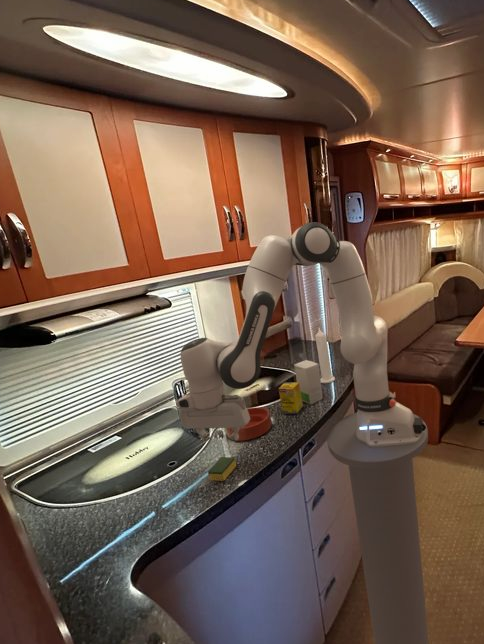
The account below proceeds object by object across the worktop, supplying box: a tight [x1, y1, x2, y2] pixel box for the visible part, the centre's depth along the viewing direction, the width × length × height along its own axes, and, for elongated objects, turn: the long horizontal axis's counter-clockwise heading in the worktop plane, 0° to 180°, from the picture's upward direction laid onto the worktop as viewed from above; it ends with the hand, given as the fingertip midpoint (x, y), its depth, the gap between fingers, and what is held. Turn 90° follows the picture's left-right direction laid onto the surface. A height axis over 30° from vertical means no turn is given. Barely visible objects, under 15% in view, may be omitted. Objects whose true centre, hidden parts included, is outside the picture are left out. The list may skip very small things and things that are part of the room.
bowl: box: [225, 406, 273, 442], centre depth 132 cm, size 15×15×5 cm
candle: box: [314, 327, 336, 384], centre depth 166 cm, size 7×7×25 cm
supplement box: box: [278, 381, 304, 416], centre depth 142 cm, size 6×6×11 cm
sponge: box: [207, 456, 237, 482], centre depth 110 cm, size 4×7×3 cm, turn 168°
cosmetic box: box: [293, 359, 324, 405], centre depth 150 cm, size 8×7×16 cm
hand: (221, 439), depth 108 cm, fingers open, 8 cm apart
